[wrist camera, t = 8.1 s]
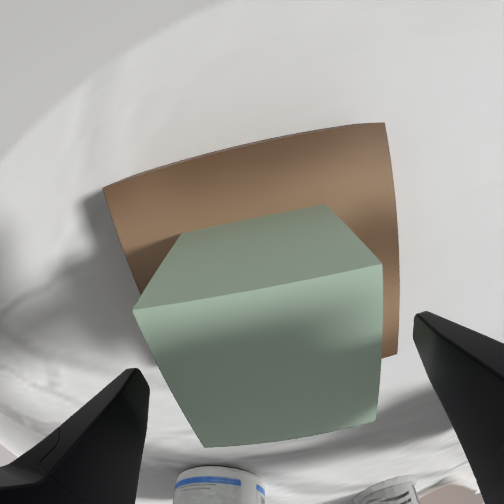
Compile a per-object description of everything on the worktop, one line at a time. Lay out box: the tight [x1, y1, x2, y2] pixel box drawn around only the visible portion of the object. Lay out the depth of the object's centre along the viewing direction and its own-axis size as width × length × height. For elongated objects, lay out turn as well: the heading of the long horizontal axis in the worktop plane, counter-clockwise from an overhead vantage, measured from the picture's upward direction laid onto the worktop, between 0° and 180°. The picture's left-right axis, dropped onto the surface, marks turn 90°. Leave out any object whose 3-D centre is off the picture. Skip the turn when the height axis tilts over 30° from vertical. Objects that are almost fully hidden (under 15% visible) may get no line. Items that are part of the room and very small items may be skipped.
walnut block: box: [103, 123, 400, 359], centre depth 15 cm, size 12×12×4 cm
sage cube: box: [132, 204, 383, 448], centre depth 11 cm, size 6×6×6 cm
